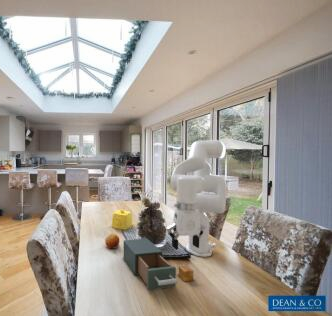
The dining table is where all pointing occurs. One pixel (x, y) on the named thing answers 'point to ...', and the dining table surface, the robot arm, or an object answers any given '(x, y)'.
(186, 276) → the block
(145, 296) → the dining table surface
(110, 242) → the fruit
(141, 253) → the cabinet
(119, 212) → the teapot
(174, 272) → the drawer
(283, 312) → the dining table surface
